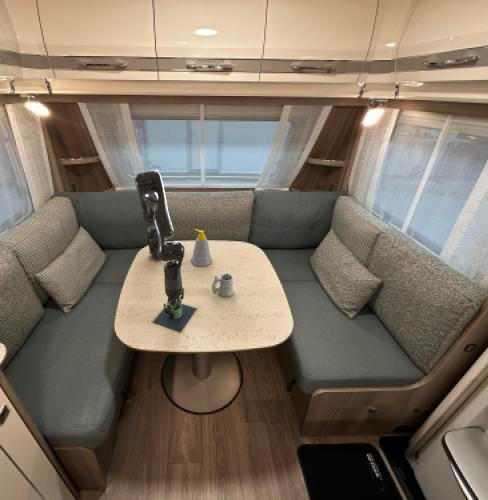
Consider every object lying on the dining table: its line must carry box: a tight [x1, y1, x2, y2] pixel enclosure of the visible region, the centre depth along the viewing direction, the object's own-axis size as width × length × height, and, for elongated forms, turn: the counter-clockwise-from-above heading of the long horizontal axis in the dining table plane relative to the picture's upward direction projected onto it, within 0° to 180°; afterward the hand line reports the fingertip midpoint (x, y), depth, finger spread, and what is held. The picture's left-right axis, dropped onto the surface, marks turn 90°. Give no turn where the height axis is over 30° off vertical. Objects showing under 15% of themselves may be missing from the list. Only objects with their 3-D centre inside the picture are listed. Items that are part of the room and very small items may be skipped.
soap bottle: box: [191, 228, 212, 267], centre depth 160 cm, size 12×12×20 cm
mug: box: [211, 273, 234, 298], centre depth 135 cm, size 8×12×12 cm, turn 110°
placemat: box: [152, 303, 197, 333], centre depth 124 cm, size 16×14×1 cm
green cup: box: [170, 302, 182, 319], centre depth 122 cm, size 6×6×6 cm
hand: (175, 313), depth 123 cm, fingers closed on green cup, 6 cm apart
